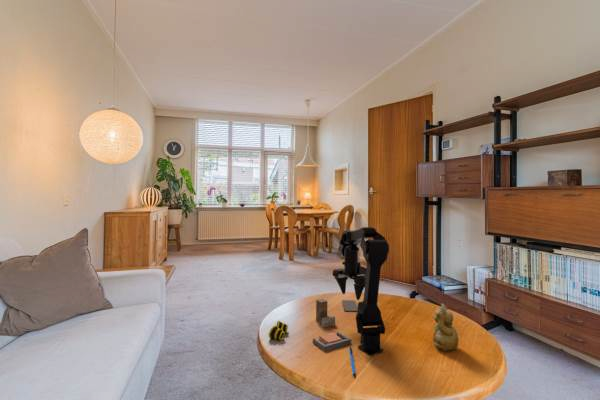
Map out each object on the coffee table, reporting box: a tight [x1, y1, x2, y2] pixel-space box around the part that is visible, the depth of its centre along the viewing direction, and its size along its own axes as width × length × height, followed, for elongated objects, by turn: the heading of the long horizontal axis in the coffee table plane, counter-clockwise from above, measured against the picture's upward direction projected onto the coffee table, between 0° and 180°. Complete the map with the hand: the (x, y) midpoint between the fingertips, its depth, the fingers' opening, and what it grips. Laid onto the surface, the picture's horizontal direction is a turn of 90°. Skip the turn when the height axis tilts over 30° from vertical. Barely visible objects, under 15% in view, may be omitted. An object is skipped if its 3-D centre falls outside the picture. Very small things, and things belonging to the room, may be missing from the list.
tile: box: [318, 332, 342, 345], centre depth 113 cm, size 6×6×2 cm
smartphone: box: [341, 299, 358, 313], centre depth 151 cm, size 7×1×15 cm
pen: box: [348, 346, 357, 379], centre depth 99 cm, size 1×19×1 cm, turn 174°
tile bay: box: [312, 331, 352, 352], centre depth 112 cm, size 8×12×2 cm, turn 120°
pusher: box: [315, 298, 336, 328], centre depth 130 cm, size 8×6×9 cm
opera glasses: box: [268, 319, 289, 341], centre depth 117 cm, size 10×5×5 cm, turn 166°
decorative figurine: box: [433, 303, 460, 353], centre depth 109 cm, size 10×8×15 cm
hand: (350, 296), depth 129 cm, fingers open, 9 cm apart
